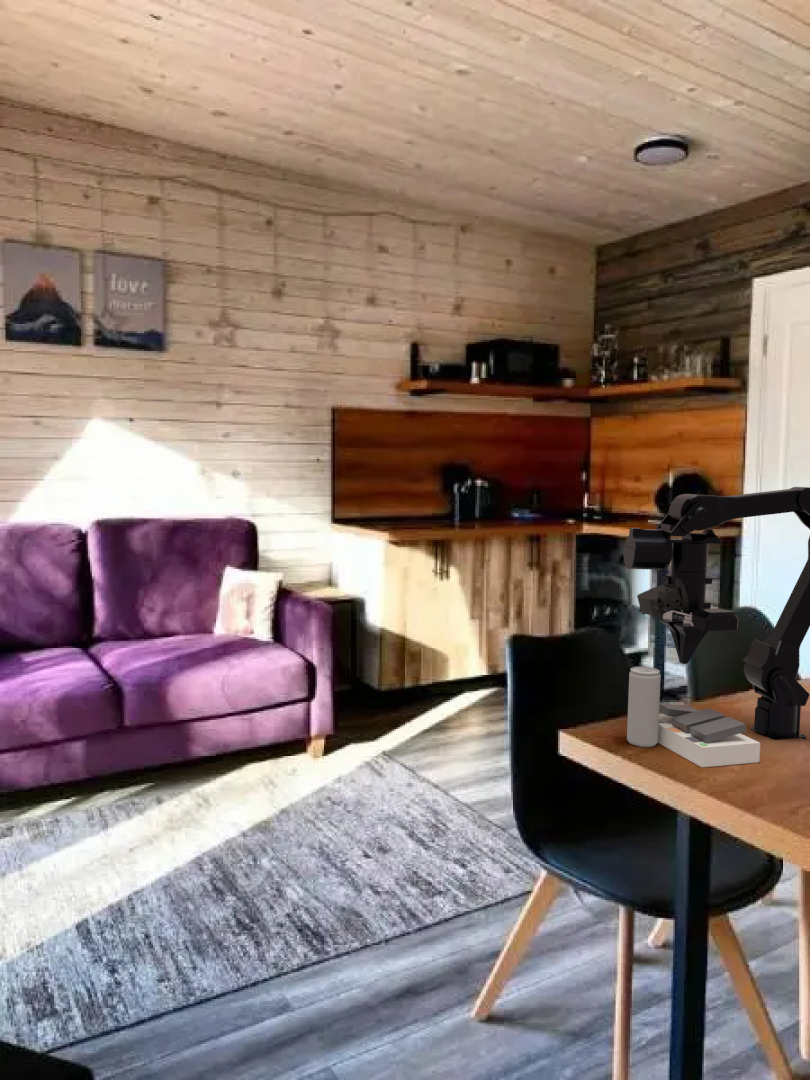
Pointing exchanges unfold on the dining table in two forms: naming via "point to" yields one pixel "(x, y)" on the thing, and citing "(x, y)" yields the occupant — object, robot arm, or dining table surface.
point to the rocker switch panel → (707, 746)
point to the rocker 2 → (696, 719)
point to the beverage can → (643, 706)
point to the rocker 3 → (717, 729)
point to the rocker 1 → (675, 709)
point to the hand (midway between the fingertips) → (683, 663)
